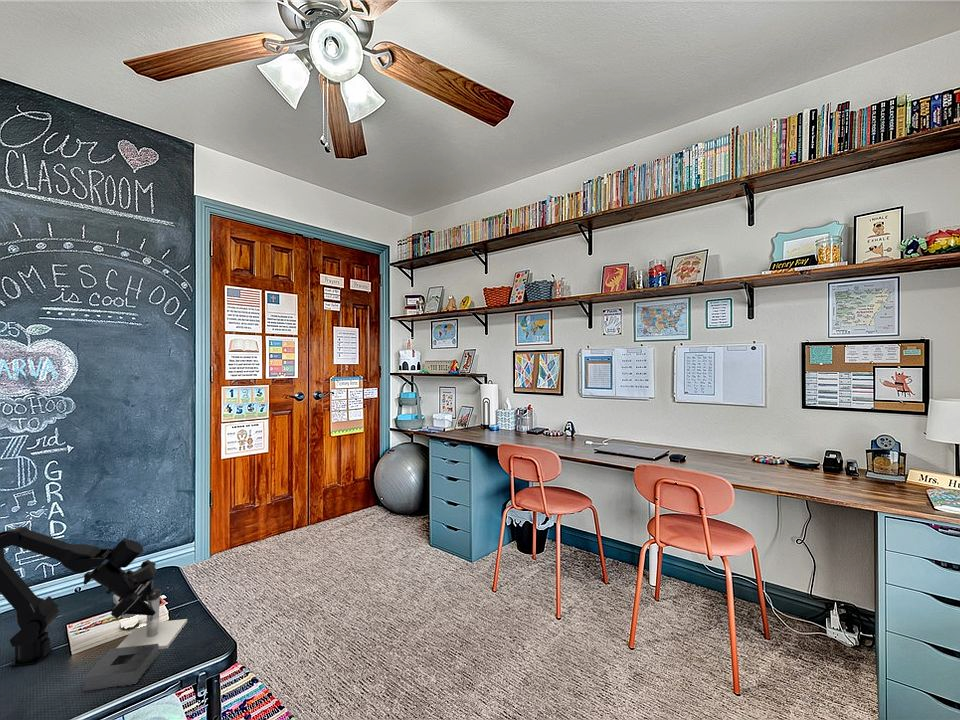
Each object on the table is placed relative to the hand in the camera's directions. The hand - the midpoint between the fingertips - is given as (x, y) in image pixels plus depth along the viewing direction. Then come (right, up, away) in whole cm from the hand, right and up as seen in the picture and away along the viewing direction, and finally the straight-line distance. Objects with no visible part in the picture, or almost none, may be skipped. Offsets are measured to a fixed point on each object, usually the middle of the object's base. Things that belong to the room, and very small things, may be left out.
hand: (157, 608), depth 141 cm
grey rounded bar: (-20, -9, +13) cm, 25 cm away
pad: (-1, -9, 0) cm, 9 cm away
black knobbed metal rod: (-1, -7, 0) cm, 8 cm away
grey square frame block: (+2, -9, -16) cm, 18 cm away
